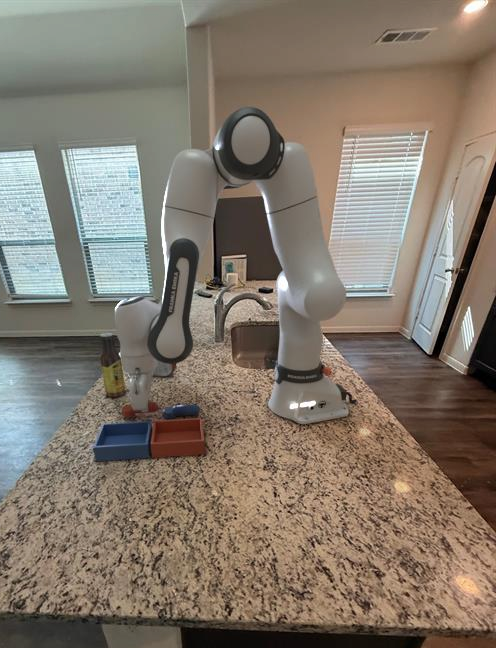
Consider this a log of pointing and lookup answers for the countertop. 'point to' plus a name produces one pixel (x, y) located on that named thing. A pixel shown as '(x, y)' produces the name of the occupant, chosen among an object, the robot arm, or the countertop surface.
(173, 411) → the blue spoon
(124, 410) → the red lumpy bar
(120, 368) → the sauce bottle
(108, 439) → the blue bin
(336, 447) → the countertop surface
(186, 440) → the red bin
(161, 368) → the tin
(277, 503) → the countertop surface
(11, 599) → the countertop surface
